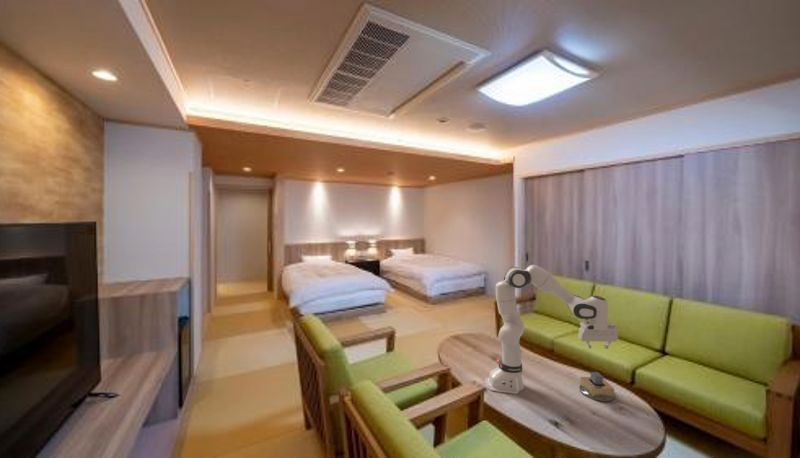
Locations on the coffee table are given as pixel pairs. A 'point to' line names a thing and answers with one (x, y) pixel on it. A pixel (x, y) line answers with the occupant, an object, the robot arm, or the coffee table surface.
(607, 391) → the rosette plate
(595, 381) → the grey rectangular block
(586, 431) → the coffee table surface
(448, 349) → the coffee table surface
